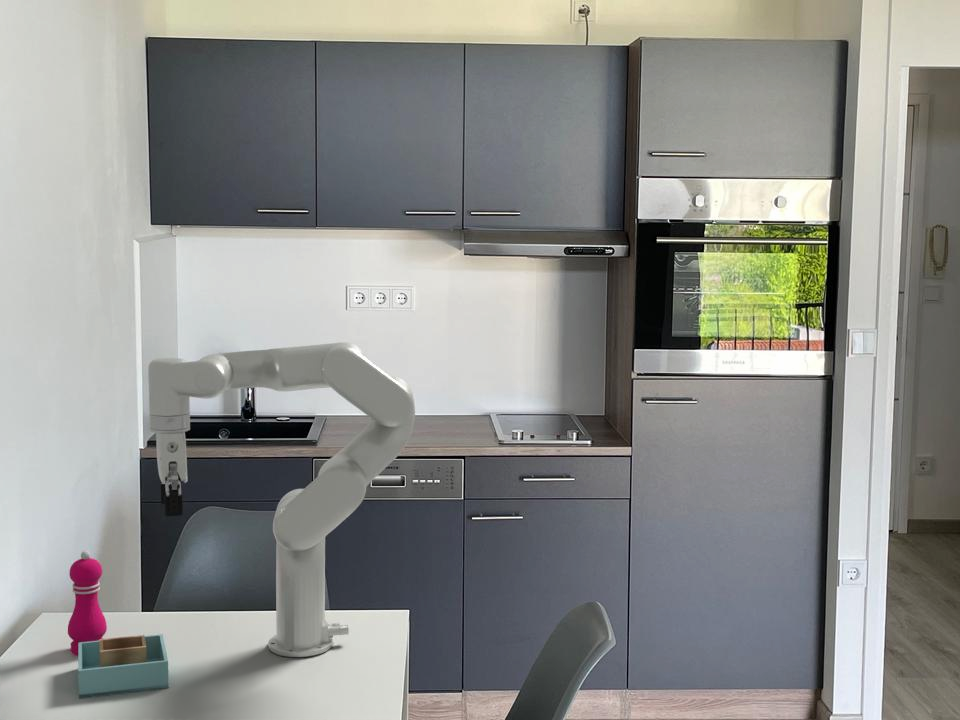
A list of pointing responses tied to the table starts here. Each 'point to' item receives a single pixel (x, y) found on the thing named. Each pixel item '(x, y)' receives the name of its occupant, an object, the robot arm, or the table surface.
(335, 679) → the table surface
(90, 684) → the big crate
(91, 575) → the pepper mill
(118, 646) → the small crate
